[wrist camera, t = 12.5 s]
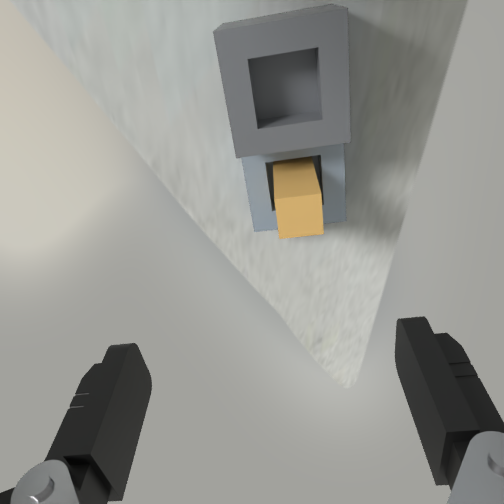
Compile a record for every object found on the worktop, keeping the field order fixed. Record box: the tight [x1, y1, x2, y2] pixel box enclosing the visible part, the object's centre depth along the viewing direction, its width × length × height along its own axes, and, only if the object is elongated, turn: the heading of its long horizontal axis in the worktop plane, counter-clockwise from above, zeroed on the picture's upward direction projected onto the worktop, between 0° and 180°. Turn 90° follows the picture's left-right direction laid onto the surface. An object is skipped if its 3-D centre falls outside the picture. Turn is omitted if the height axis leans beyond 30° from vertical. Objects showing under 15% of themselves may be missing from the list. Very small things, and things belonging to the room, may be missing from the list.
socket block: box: [213, 4, 351, 232], centre depth 39 cm, size 20×10×8 cm, turn 9°
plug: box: [273, 156, 324, 239], centre depth 40 cm, size 5×4×10 cm
